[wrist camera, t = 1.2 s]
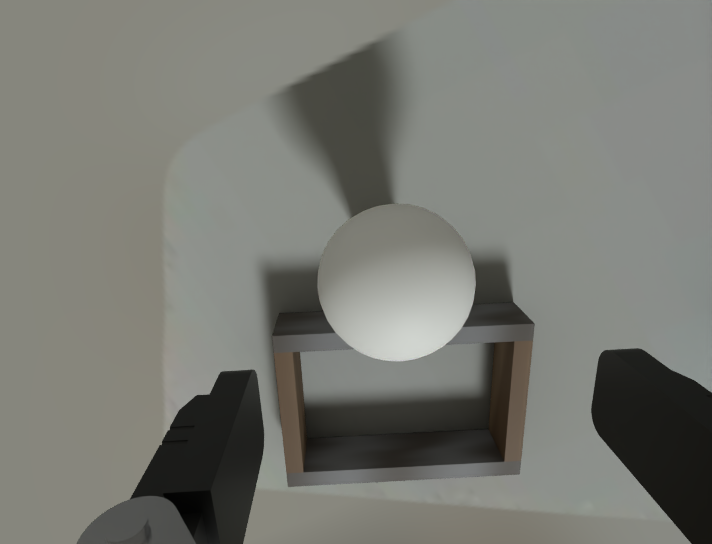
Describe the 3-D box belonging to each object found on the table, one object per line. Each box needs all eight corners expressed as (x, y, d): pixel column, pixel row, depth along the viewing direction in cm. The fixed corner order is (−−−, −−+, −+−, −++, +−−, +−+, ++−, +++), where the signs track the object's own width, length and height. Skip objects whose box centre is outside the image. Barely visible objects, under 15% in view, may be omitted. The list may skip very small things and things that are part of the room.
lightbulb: (311, 195, 24) (289, 248, 14) (421, 167, 24) (484, 200, 13) (340, 296, 26) (339, 410, 16) (441, 271, 26) (510, 371, 15)
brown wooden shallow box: (513, 302, 26) (534, 323, 24) (502, 441, 30) (519, 474, 27) (279, 313, 26) (272, 336, 23) (293, 451, 29) (287, 486, 26)
